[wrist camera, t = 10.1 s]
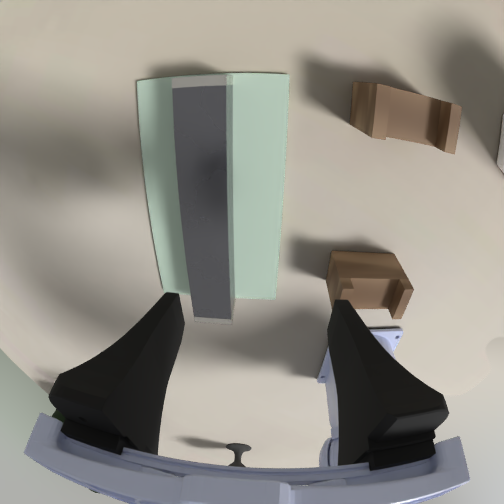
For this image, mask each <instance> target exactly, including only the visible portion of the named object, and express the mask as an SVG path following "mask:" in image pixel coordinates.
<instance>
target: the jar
mask: <svg viewBox="0 0 504 504" xmlns="http://www.w3.org/2000/svg"><path fill="white" fill-rule="evenodd" d="M497 165H498V167H499V168H500V169H501V171H502V172H503V173H504V114H503V118H502V128H501V137H500V144H499V151H498V158H497Z"/></svg>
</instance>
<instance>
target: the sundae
mask: <svg viewBox="0 0 504 504" xmlns="http://www.w3.org/2000/svg"><path fill="white" fill-rule="evenodd" d="M226 448H227V449H229V450H232V451H234V454H235V460H234V462H233V463H232V464H230V465H229V466H234V467H245V466H244V465H243V464H242V463H241V455H242V453H243V452H245V451H250V450H251V447H250V446H248V445H244V444H228V445H227V446H226Z"/></svg>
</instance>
